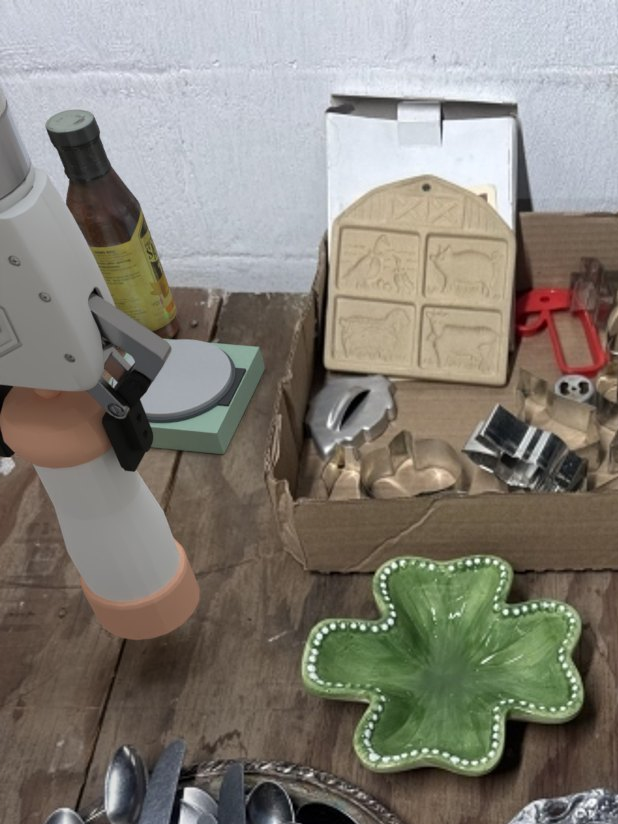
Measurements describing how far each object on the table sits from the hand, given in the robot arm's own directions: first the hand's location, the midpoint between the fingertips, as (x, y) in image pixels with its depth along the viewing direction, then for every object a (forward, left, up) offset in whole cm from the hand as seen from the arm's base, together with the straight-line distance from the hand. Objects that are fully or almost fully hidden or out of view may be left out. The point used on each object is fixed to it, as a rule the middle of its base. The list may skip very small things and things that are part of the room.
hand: (76, 447), depth 65 cm
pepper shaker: (0, 0, -14) cm, 14 cm away
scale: (-10, +28, -20) cm, 36 cm away
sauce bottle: (-17, +38, -20) cm, 46 cm away
